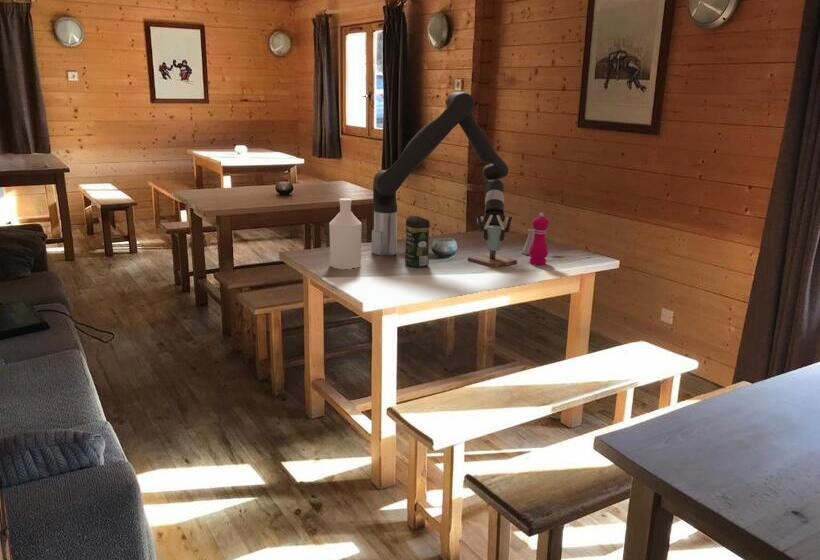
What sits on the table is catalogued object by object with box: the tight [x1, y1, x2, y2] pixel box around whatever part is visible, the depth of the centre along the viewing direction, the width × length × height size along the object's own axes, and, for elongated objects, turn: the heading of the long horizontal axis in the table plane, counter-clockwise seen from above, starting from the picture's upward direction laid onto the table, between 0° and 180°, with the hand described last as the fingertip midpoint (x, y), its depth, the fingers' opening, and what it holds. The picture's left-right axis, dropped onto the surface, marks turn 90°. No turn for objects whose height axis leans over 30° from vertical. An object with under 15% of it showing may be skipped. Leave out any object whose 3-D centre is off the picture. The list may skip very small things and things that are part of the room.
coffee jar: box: [404, 215, 431, 268], centre depth 254 cm, size 10×8×19 cm
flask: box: [521, 228, 534, 256], centre depth 279 cm, size 7×7×10 cm
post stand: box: [467, 250, 518, 268], centre depth 264 cm, size 13×14×6 cm
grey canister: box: [485, 225, 502, 252], centre depth 262 cm, size 5×5×9 cm
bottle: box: [328, 197, 363, 270], centre depth 249 cm, size 12×12×25 cm
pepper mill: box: [529, 212, 550, 266], centre depth 261 cm, size 7×7×20 cm
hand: (494, 239), depth 260 cm, fingers closed on grey canister, 5 cm apart
